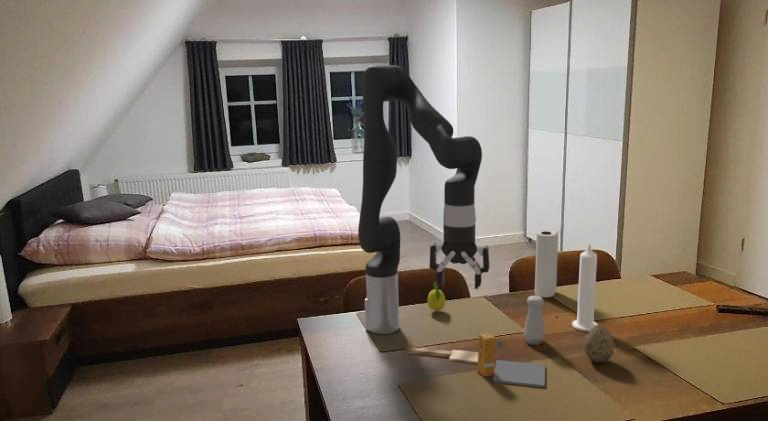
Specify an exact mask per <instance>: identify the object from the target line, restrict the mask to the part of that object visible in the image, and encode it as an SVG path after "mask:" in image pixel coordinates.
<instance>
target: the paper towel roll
mask: <svg viewBox="0 0 768 421" xmlns="http://www.w3.org/2000/svg"><path fill="white" fill-rule="evenodd" d="M535 244H536V245H535V270H534V271H535V272H534V274H535V275H534V276H535V277H534V296H540V297H541V298H551V297H553V296H555V293H556V292H557V278H558V277H557V276H558V254H559V251H558V250H559V230H558V231H557V232H554V231H552V230H551V231H549V230H540V231H537V232H536V242H535Z"/></svg>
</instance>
